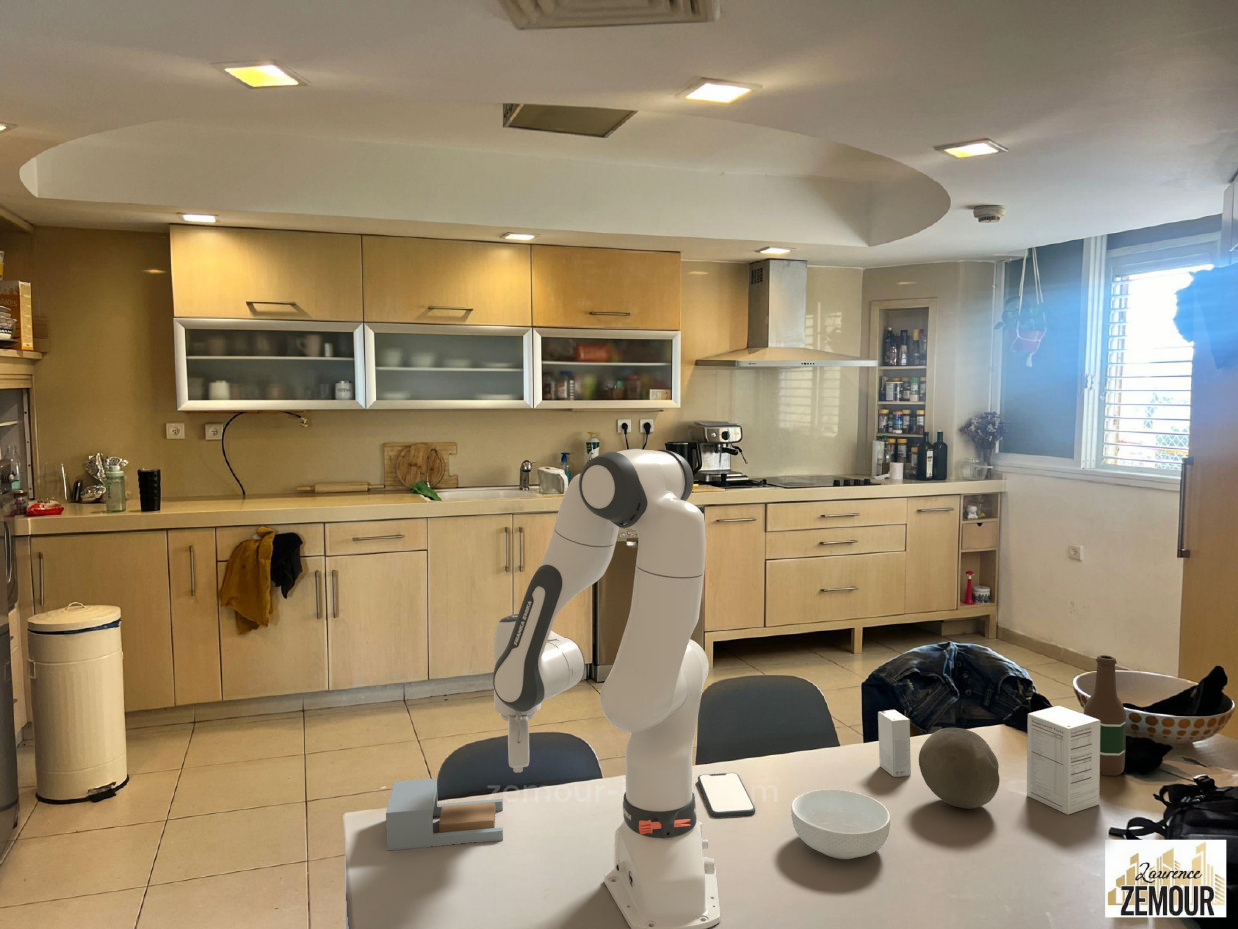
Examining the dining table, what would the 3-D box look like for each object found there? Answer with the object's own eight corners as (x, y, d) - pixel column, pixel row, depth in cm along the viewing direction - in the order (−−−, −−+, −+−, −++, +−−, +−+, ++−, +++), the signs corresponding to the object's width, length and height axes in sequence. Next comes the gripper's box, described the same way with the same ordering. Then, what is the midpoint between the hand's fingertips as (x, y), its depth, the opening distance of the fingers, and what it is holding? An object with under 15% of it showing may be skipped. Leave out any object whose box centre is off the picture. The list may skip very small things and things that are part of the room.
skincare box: (911, 775, 179) (912, 719, 178) (892, 778, 178) (892, 721, 177) (896, 763, 185) (896, 708, 184) (877, 765, 184) (877, 710, 183)
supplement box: (1100, 805, 165) (1103, 720, 164) (1068, 816, 161) (1070, 729, 160) (1056, 785, 174) (1058, 704, 172) (1024, 795, 170) (1026, 712, 169)
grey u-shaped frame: (503, 840, 157) (501, 803, 156) (387, 850, 154) (385, 813, 153) (502, 807, 169) (501, 773, 168) (395, 816, 166) (394, 781, 166)
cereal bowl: (908, 849, 151) (909, 810, 151) (854, 886, 140) (854, 844, 140) (827, 814, 164) (827, 778, 163) (771, 846, 153) (771, 807, 152)
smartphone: (757, 818, 164) (738, 779, 180) (757, 810, 164) (738, 771, 180) (711, 821, 163) (696, 782, 179) (711, 813, 163) (696, 774, 179)
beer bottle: (1073, 764, 183) (1076, 653, 181) (1102, 758, 186) (1105, 649, 184) (1103, 779, 176) (1107, 664, 174) (1133, 773, 178) (1137, 660, 176)
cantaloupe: (950, 783, 175) (951, 712, 174) (1014, 811, 164) (1015, 734, 162) (904, 802, 168) (904, 727, 167) (967, 833, 156) (969, 753, 155)
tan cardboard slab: (494, 836, 159) (493, 820, 159) (439, 840, 158) (438, 824, 158) (495, 817, 166) (495, 802, 166) (442, 821, 165) (442, 806, 165)
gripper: (536, 719, 152) (537, 794, 153) (532, 679, 172) (532, 745, 173) (500, 721, 151) (501, 796, 152) (500, 680, 171) (501, 747, 172)
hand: (518, 769), depth 163 cm, fingers closed
